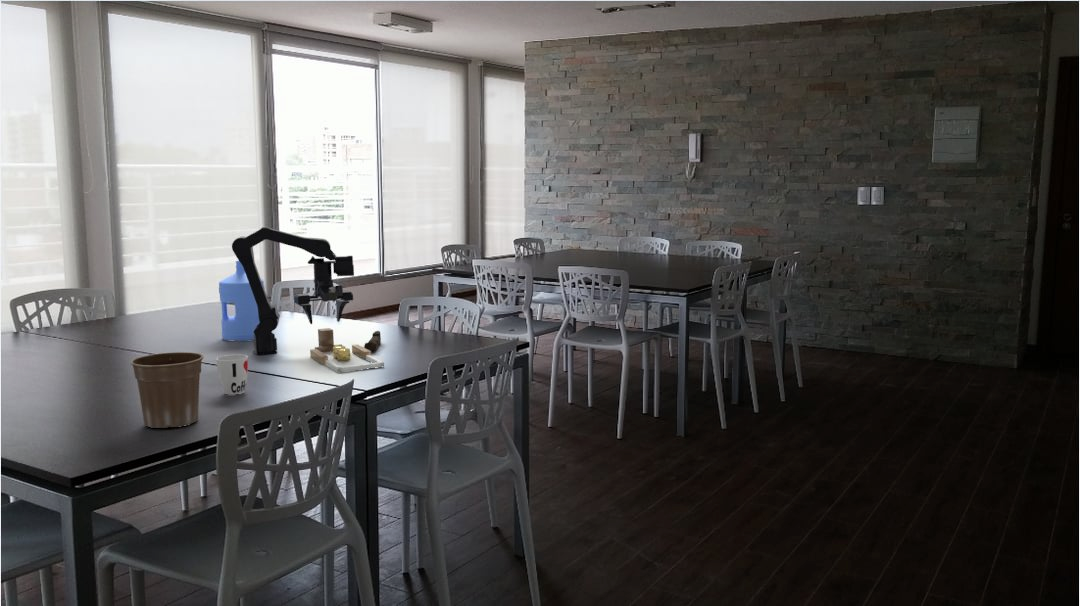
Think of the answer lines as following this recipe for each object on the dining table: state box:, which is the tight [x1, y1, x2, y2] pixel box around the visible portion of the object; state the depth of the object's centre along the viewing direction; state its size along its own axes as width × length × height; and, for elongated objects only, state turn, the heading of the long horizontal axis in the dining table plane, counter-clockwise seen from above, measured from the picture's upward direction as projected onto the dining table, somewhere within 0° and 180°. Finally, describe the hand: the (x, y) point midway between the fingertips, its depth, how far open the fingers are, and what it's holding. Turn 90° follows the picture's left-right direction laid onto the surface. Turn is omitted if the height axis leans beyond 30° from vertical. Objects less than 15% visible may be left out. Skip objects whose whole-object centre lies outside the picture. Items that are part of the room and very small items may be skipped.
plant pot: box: [130, 351, 204, 429], centre depth 216 cm, size 16×16×16 cm
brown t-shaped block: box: [314, 327, 343, 353], centre depth 302 cm, size 9×6×7 cm, turn 120°
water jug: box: [218, 260, 265, 342], centre depth 323 cm, size 16×16×28 cm
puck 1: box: [332, 345, 346, 360], centre depth 290 cm, size 4×4×4 cm
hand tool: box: [363, 330, 382, 354], centre depth 306 cm, size 19×4×5 cm, turn 179°
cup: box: [216, 353, 249, 396], centre depth 245 cm, size 8×8×10 cm
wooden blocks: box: [309, 344, 372, 366], centre depth 289 cm, size 16×13×2 cm
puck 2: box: [337, 347, 351, 362], centre depth 286 cm, size 4×4×4 cm
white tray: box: [325, 354, 385, 374], centre depth 277 cm, size 14×13×2 cm
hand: (324, 322), depth 301 cm, fingers open, 9 cm apart
